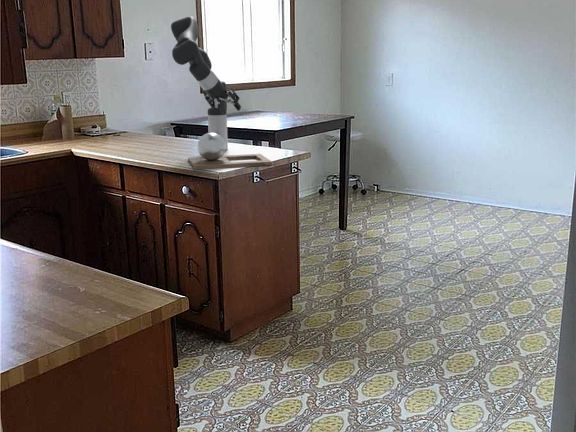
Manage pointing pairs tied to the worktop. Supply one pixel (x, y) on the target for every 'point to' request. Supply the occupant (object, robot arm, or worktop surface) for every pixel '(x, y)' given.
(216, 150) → the ball
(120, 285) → the worktop surface
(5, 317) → the worktop surface
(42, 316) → the worktop surface
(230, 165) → the wooden tray
